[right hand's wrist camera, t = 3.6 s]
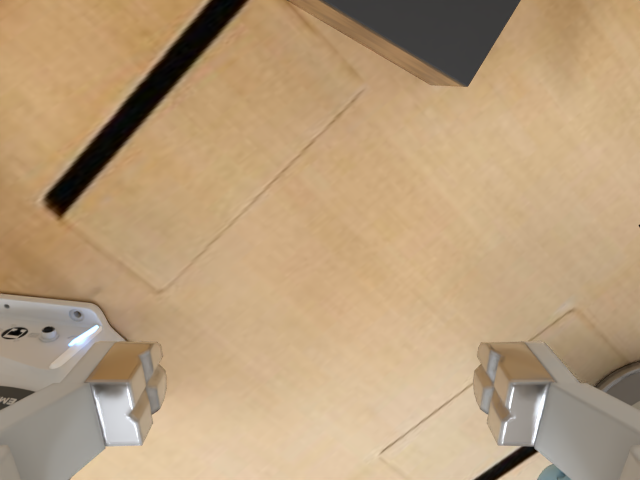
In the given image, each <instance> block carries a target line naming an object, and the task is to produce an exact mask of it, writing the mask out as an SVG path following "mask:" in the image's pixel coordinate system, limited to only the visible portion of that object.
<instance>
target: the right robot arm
mask: <svg viewBox="0 0 640 480" xmlns="http://www.w3.org/2000/svg"><path fill="white" fill-rule="evenodd" d="M77 311H78V312H80V313H81V314H79V313H78V312H77ZM162 357H163V353H162V349H161V345H160V344H159V343H158V342H134V341H125V339H124V338H122V337H121V336H120V335H119V334H118V333H117V332H116V331H115V330H114V329H113V328H112V327H111V326H110V325H109V323H108V321H107V319H106V317H105V316H104V314H103V312H102V311H101V309H100V308H99V307H98V306H97V305H95V304H92V303H87V302H77V301H67V300H58V299H48V298H38V297H29V296H19V295H9V294H0V480H70V479H71V477H72V476H73V475H75V474H76V473H77V472H78V471H79V470H80V469H82V468H83V467H84V466H85V465H86V464H88V463H89V462H90V461H91V460H92V459H93V458H95V457H96V456H97V455H98V454H99V453H100V452H102V451H103V450H104V449H105V446H135V445H143V442H144V440H145V438H146V436H147V434H148V432H149V430H150V428H151V426H152V424H153V420H152V414H154V413H155V412H156V411H158V410H159V409H160V408H161V406H162V403H163V401H164V398H165V393H166V389H167V378H166V371H165V370H164V369H163V368H162V367H161V366H160V365H159V363H160V361H161V359H162ZM477 357H478V359H479V361H480V363H481V365H480V366H479V367H478V368H477V369H476V370H475V371H474V379H473V386H474V394H475V398H476V401H477V403H478V406H479V408H480V409H481V410H482V411H484V412H485V413H486V414H488V420H487V424H488V426H489V428H490V430H491V432H492V434H493V436H494V438H495V440H496V442H497V444H498V445H504V446H535V449H536V450H537V451H539V452H540V453H541V454H542V455H543V456H544V457H546V458H547V459H548V460H549V461H550V462H551V463H553V464H554V465H555V466H556V467H557V468H559V469H560V470H561V471H562V472H563V473H564V474H566V475H567V476H568V477H569V478H570V479H571V480H640V410H638V409H636V408H634V407H632V406H630V405H628V404H627V403H625V402H623V401H621V400H619V399H617V398H615V397H613V396H611V395H609V394H607V393H605V392H603V391H601V390H599V389H597V388H595V387H593V386H591V385H589V384H588V383H580V382H579V381H578V380H577V379H576V378H575V377H574V375H573V374H572V373H571V372H570V371H569V370H568V368H567V367H566V366H565V365H564V364H563V363H562V362H561V360H560V359H559V358H558V357H557V356H556V355H555V353H554V352H553V351H552V350H551V349H550V348H549V347H548V345H547V344H546V343H544V342H542V341H521V342H481V344H480V346H479V348H478V353H477Z"/></svg>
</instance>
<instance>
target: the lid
mask: <svg viewBox="0 0 640 480" xmlns="http://www.w3.org/2000/svg"><path fill="white" fill-rule="evenodd" d="M319 1H321V2H322V3H324V4H326V5H327V6H329V7H331V8H332V9H334V10H336V11H337V12H339V13H341V14H342V15H344V16H346V17H347V18H349V19H351V20H352V21H354V22H356V23H357V24H359V25H361V26H362V27H364V28H366V29H367V30H369V31H371V32H372V33H374V34H376V35H378V36H379V37H381V38H383V39H384V40H386V41H388V42H389V43H391V44H393V45H394V46H396V47H398V48H399V49H401V50H403V51H404V52H406V53H408V54H409V55H411V56H413V57H414V58H416V59H418V60H419V61H421V62H423V63H424V64H426V65H428V66H429V67H431V68H433V69H434V70H436V71H438V72H439V73H441V74H443V75H444V76H446V77H448V78H449V79H451V80H453V81H454V82H456V83H458V84H460V85H461V86H463V87H468V86H469V84H470V82H471V81H472V79H473V77H474V76H475V74H476V72H477V71H478V69H479V68H480V66H481V64H482V63H483V61H484V59H485V58H486V56H487V54H488V53H489V51H490V50H491V48H492V46H493V45H494V43H495V41H496V40H497V38H498V37H499V35H500V33H501V32H502V30H503V28H504V27H505V25H506V23H507V22H508V20H509V19H510V17H511V15H512V14H513V12H514V10H515V9H516V7H517V5H518V4H519V2H520V1H521V0H319Z"/></svg>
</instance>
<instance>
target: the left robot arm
mask: <svg viewBox="0 0 640 480" xmlns="http://www.w3.org/2000/svg"><path fill="white" fill-rule="evenodd" d="M639 227H640V225H639ZM595 388H597V389H599V390H601V391H603V392H605V393H607V394H609V395H611V396H613V397H615V398H617V399H619V400H621V401H623V402H625V403H627V404H628V405H630V406H632V407H634V408H636V409H638V410H640V361H639V362H636V363H632V364H630V365H627V366H625V367H622V368H620V369H618V370H617V371H615V372H613V373H611V374H610V375H608V376H607V377H606V378H605V379H603V380H602V381H601V382H600V383H599V384H598V385H597V386H596V387H595ZM537 480H571V479H570V478H569V477H568V476H567V475H566V474H564V473H563V472H562V471H561V470H560V469H559V468H557V467H556V466H555V465H554V464H552V465H550V466H548V467H547V468H545V469H544V470H543V471H542V473H541V474H540V475H539V477H538V479H537Z"/></svg>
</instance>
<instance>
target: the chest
mask: <svg viewBox="0 0 640 480" xmlns="http://www.w3.org/2000/svg"><path fill="white" fill-rule="evenodd" d="M287 1H289V2H291V3H292V4H294V5H296V6H298V7H299V8H301V9H303V10H304V11H306V12H308V13H309V14H311V15H313V16H315V17H316V18H318V19H320V20H321V21H323V22H325V23H326V24H328V25H330V26H331V27H333V28H335V29H337V30H338V31H340V32H342V33H343V34H345V35H347V36H348V37H350V38H352V39H354V40H355V41H357V42H359V43H360V44H362V45H364V46H365V47H367V48H369V49H371V50H372V51H374V52H376V53H377V54H379V55H381V56H382V57H384V58H386V59H388V60H389V61H391V62H393V63H394V64H396V65H398V66H399V67H401V68H403V69H404V70H406V71H408V72H410V73H411V74H413V75H415V76H416V77H418V78H420V79H421V80H423V81H425V82H427V83H428V84H430V85H441V86H461V85H460V84H458V83H456V82H454V81H453V80H451V79H449V78H448V77H446V76H444V75H443V74H441V73H439V72H438V71H436V70H434V69H433V68H431V67H429V66H428V65H426V64H424V63H423V62H421V61H419V60H418V59H416V58H414V57H413V56H411V55H409V54H408V53H406V52H404V51H403V50H401V49H399V48H398V47H396V46H394V45H393V44H391V43H389V42H388V41H386V40H384V39H383V38H381V37H379V36H378V35H376V34H374V33H372V32H371V31H369V30H367V29H366V28H364V27H362V26H361V25H359V24H357V23H356V22H354V21H352V20H351V19H349V18H347V17H346V16H344V15H342V14H341V13H339V12H337V11H336V10H334V9H332V8H331V7H329V6H327V5H326V4H324V3H322V2H321V1H319V0H287Z"/></svg>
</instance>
